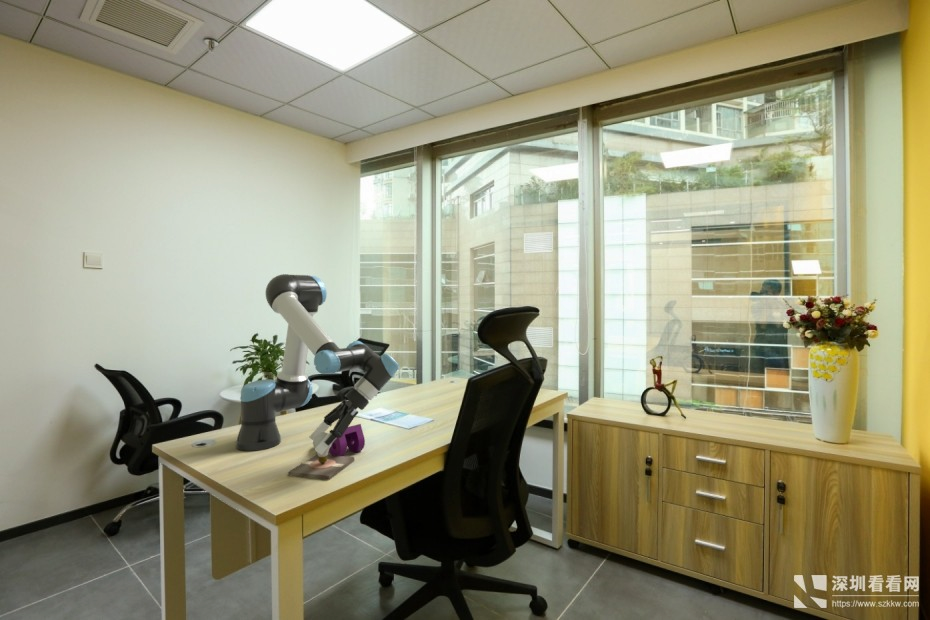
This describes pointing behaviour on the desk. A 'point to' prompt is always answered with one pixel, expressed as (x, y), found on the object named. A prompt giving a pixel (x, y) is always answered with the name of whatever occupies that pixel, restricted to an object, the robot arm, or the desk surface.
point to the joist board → (321, 467)
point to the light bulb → (316, 442)
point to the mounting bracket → (348, 441)
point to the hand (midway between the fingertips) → (314, 445)
